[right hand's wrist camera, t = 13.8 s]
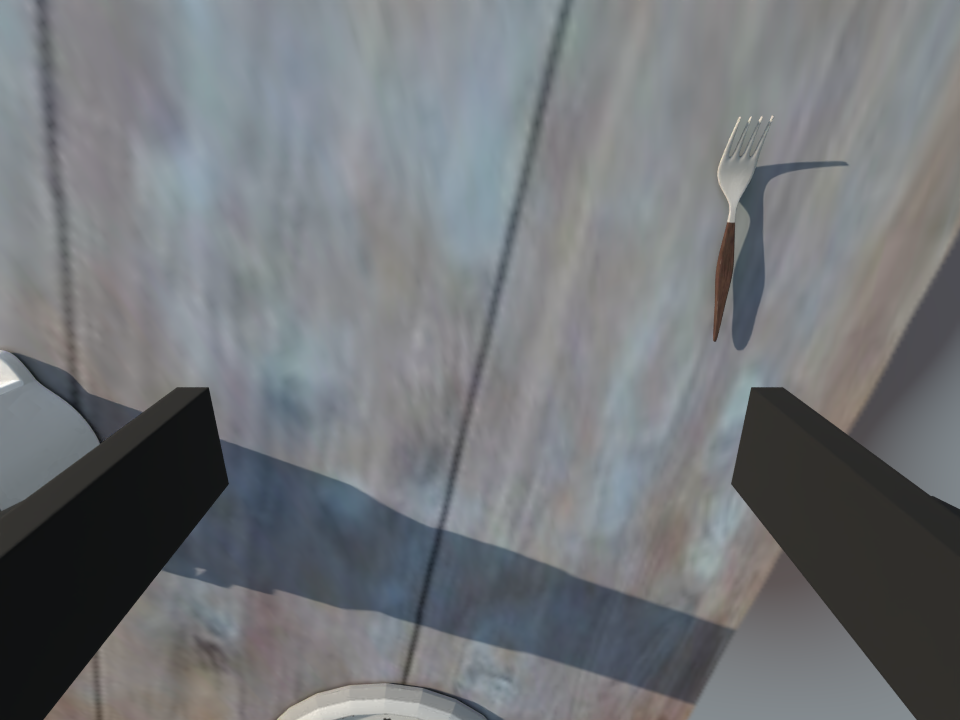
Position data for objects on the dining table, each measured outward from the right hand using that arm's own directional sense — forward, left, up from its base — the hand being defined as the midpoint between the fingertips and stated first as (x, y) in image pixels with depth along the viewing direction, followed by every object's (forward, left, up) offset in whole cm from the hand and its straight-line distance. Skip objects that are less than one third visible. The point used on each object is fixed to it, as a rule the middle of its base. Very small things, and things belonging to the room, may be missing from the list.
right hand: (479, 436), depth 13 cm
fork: (-18, +4, -28) cm, 33 cm away
